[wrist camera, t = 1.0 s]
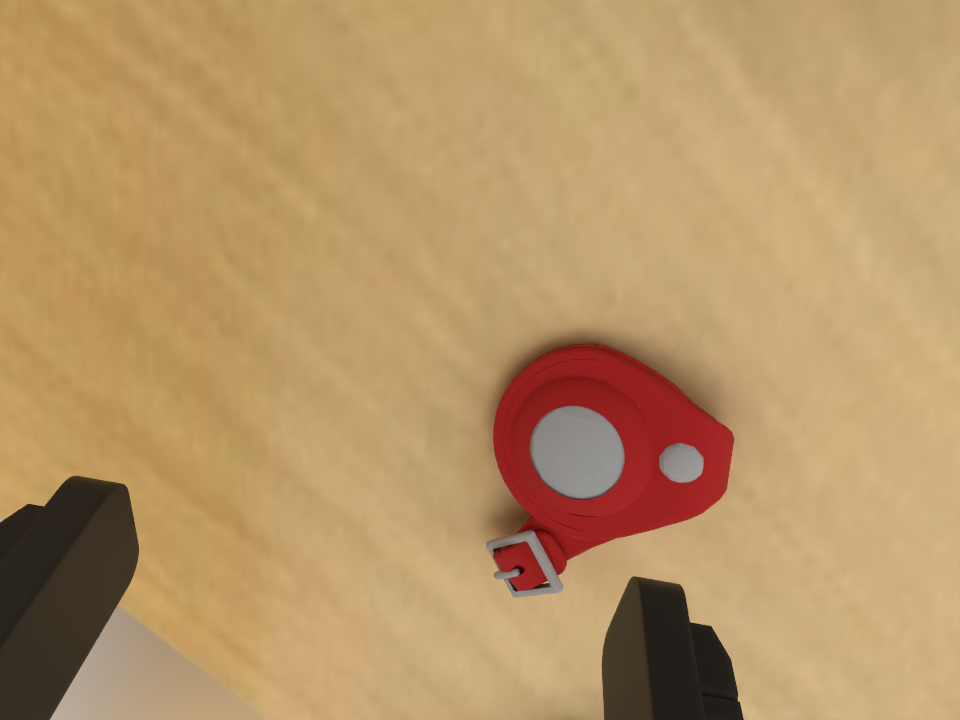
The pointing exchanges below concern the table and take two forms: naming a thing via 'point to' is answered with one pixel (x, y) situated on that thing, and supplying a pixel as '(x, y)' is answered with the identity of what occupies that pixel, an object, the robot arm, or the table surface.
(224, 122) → the table surface
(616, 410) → the tracker holder
